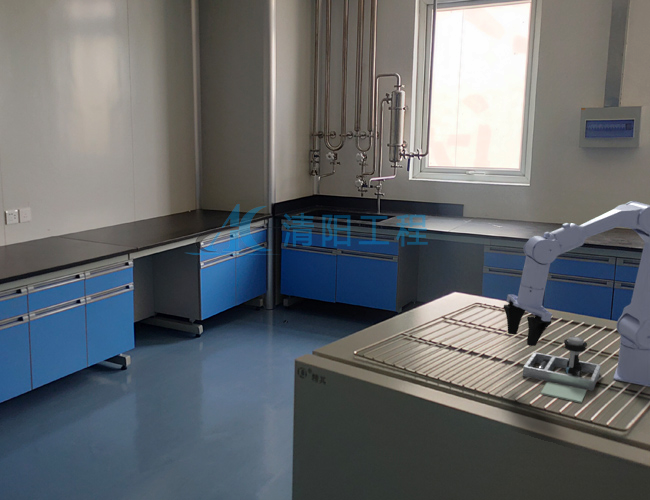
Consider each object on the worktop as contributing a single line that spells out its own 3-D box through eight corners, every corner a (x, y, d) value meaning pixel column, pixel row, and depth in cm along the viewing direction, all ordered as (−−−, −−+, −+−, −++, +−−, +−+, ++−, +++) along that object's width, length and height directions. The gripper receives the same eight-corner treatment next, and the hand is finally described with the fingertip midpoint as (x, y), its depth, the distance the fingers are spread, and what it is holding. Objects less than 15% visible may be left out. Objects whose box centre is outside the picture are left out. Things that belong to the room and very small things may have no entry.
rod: (545, 367, 159) (548, 363, 158) (538, 378, 152) (541, 374, 151) (540, 363, 159) (543, 359, 159) (532, 374, 153) (536, 369, 152)
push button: (577, 384, 148) (580, 345, 145) (555, 378, 151) (558, 340, 149) (587, 376, 152) (590, 338, 150) (566, 370, 156) (569, 333, 154)
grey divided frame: (599, 374, 154) (600, 364, 153) (592, 390, 144) (593, 381, 143) (533, 360, 162) (534, 352, 161) (522, 376, 152) (523, 366, 152)
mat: (586, 391, 144) (586, 390, 143) (581, 403, 138) (581, 401, 138) (547, 383, 148) (547, 381, 148) (540, 393, 142) (540, 392, 142)
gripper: (500, 277, 150) (490, 328, 153) (538, 294, 137) (526, 350, 140) (524, 278, 153) (513, 328, 156) (563, 295, 139) (551, 350, 142)
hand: (521, 339), depth 148 cm, fingers open, 7 cm apart
